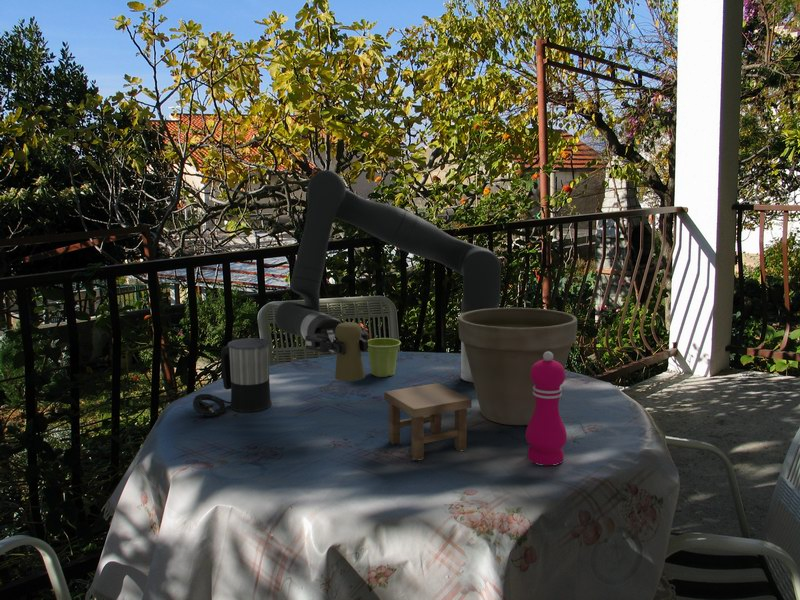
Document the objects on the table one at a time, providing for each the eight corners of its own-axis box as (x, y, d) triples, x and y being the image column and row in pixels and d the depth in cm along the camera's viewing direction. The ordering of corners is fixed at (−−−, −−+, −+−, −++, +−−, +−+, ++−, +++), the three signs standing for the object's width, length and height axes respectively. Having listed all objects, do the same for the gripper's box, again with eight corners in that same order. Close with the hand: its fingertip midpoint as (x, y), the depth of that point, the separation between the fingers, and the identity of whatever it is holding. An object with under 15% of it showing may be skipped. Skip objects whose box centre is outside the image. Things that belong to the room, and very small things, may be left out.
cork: (369, 373, 141) (367, 320, 139) (358, 382, 135) (356, 327, 133) (342, 371, 143) (340, 319, 141) (329, 379, 137) (327, 325, 135)
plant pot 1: (402, 369, 186) (402, 338, 185) (399, 379, 177) (399, 346, 175) (368, 369, 187) (367, 337, 186) (362, 378, 178) (362, 345, 176)
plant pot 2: (456, 396, 163) (456, 305, 159) (562, 397, 161) (565, 305, 158) (459, 434, 138) (459, 327, 134) (585, 436, 137) (589, 328, 133)
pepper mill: (520, 452, 128) (522, 347, 125) (558, 451, 129) (562, 346, 126) (531, 468, 121) (533, 357, 118) (571, 466, 122) (575, 356, 119)
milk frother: (280, 402, 159) (277, 339, 157) (239, 424, 145) (235, 355, 142) (229, 395, 165) (226, 334, 162) (184, 416, 150) (180, 349, 148)
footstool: (438, 430, 140) (438, 382, 138) (471, 450, 130) (471, 399, 128) (384, 441, 135) (384, 391, 133) (414, 462, 124) (414, 409, 122)
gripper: (290, 318, 147) (319, 333, 132) (352, 311, 153) (386, 324, 138) (292, 352, 148) (321, 371, 133) (353, 344, 154) (387, 361, 139)
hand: (354, 347), depth 135 cm, fingers closed on cork, 4 cm apart
